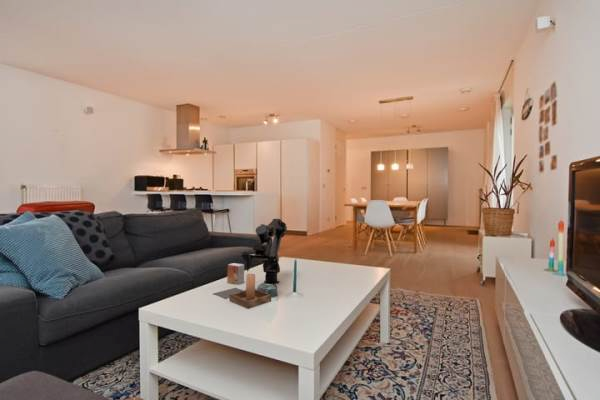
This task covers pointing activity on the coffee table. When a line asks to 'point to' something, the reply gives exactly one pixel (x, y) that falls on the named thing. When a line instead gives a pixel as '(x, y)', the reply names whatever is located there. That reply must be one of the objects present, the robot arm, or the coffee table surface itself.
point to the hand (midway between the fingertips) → (256, 271)
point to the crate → (241, 300)
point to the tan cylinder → (250, 287)
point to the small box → (235, 273)
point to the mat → (227, 293)
